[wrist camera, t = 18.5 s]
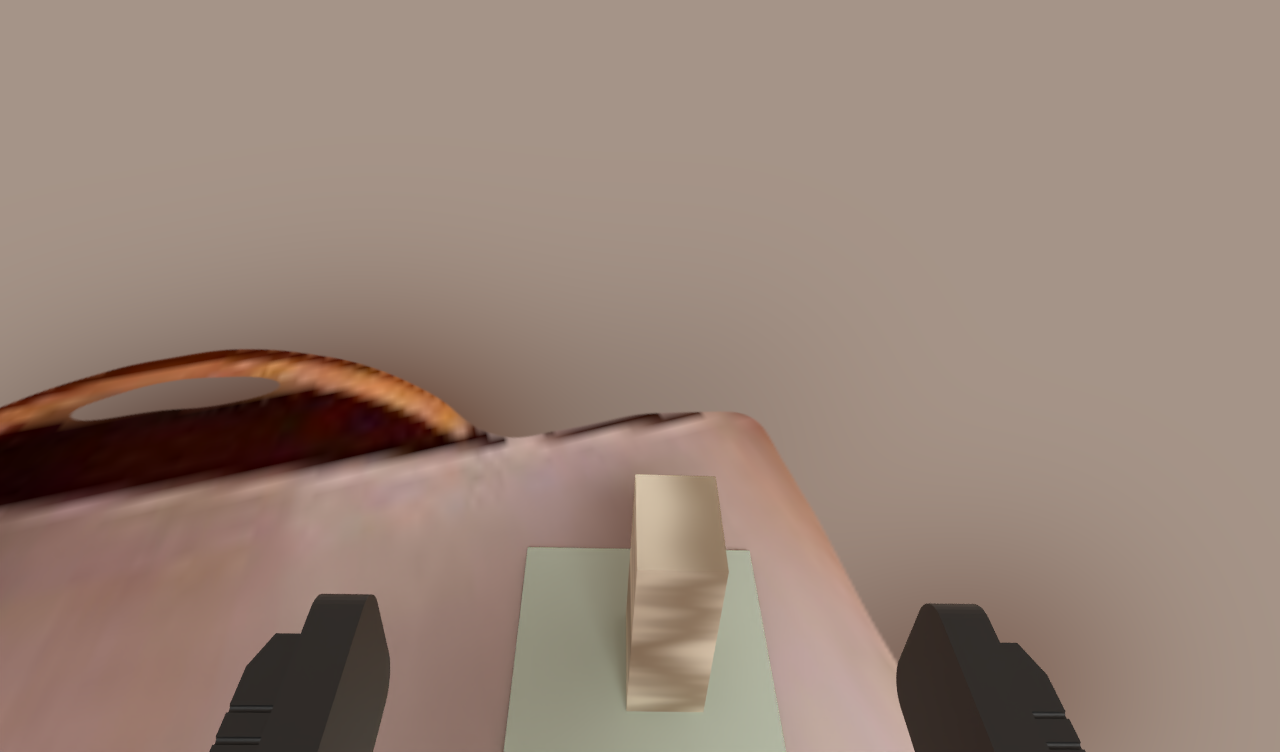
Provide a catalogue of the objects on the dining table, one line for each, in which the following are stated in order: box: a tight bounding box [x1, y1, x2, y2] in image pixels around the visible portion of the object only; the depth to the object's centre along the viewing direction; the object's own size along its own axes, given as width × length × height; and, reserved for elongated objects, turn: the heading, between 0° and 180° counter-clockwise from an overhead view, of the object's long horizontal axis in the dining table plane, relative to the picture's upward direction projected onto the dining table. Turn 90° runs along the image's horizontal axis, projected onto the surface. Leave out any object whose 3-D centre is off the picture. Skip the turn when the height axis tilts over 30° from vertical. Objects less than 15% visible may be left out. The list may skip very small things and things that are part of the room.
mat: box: [504, 547, 786, 752], centre depth 43 cm, size 14×14×1 cm
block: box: [626, 474, 729, 712], centre depth 39 cm, size 4×6×11 cm, turn 1°
